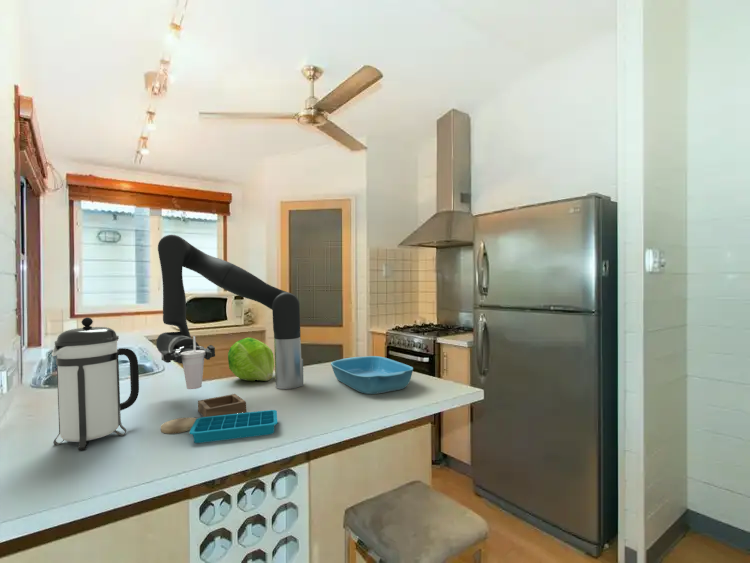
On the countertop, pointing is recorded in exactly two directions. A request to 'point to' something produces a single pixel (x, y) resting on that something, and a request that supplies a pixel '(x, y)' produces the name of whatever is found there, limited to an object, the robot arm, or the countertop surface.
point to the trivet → (178, 425)
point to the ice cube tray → (234, 426)
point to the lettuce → (251, 360)
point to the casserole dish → (372, 374)
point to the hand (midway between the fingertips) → (194, 357)
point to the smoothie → (193, 366)
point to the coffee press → (91, 383)
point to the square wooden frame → (221, 405)
